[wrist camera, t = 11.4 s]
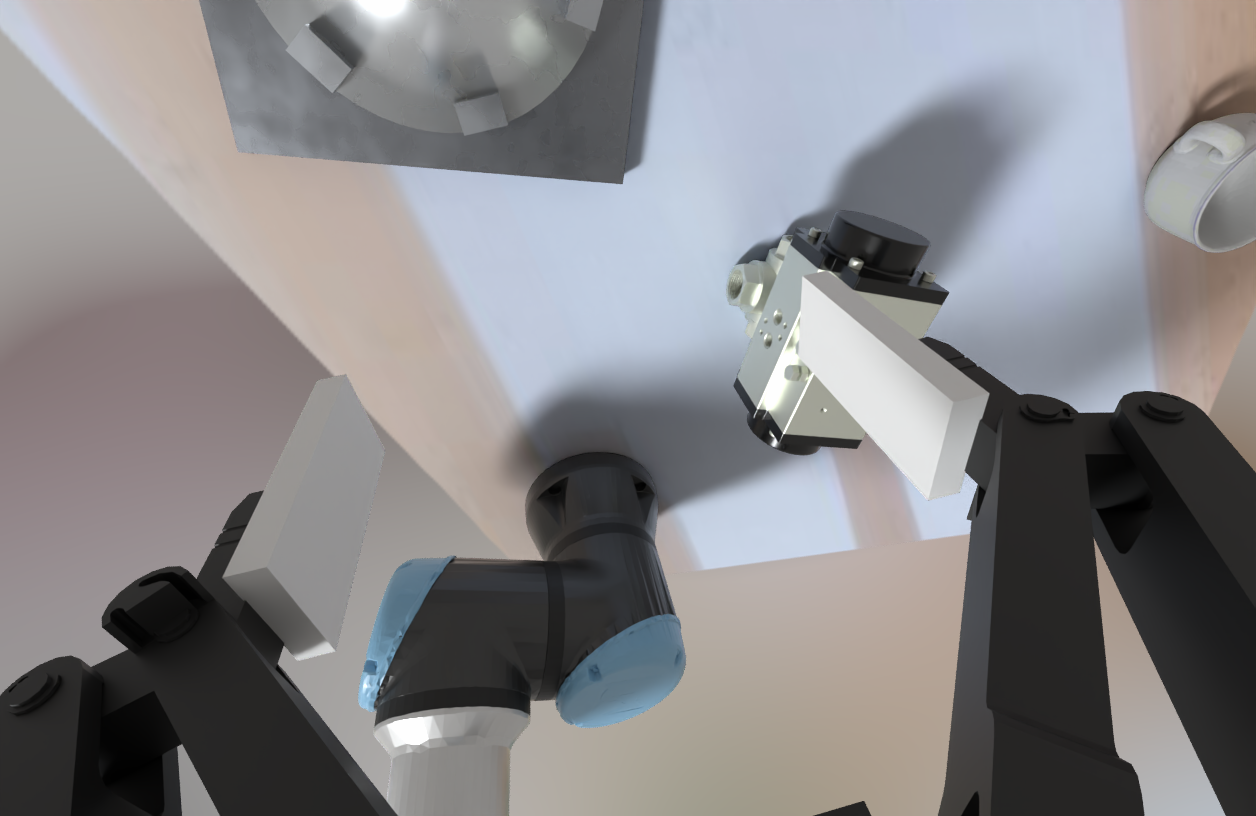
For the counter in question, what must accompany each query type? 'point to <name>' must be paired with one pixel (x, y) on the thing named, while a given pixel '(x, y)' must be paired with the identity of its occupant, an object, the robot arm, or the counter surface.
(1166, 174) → the teacup
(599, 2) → the silver tabbed disc
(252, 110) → the base plate
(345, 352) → the counter surface
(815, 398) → the ball valve
